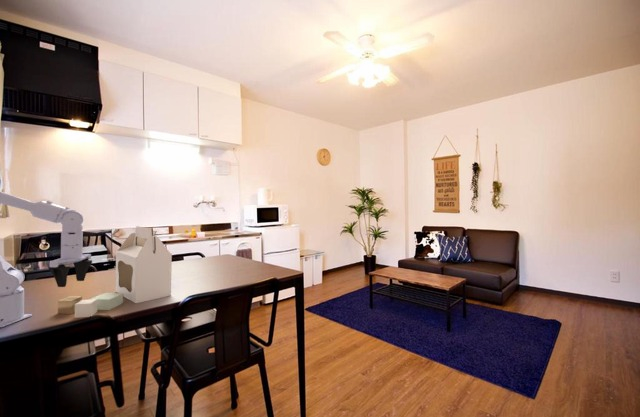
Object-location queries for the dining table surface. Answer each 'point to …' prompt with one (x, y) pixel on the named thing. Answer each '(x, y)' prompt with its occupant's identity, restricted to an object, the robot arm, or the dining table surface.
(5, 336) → the dining table surface
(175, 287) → the dining table surface
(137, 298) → the gable box
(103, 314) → the dining table surface
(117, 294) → the sage block
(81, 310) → the cream cube
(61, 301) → the oak cube
